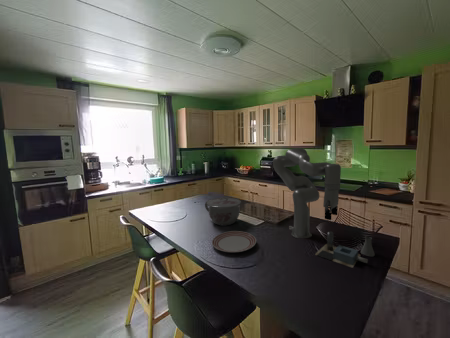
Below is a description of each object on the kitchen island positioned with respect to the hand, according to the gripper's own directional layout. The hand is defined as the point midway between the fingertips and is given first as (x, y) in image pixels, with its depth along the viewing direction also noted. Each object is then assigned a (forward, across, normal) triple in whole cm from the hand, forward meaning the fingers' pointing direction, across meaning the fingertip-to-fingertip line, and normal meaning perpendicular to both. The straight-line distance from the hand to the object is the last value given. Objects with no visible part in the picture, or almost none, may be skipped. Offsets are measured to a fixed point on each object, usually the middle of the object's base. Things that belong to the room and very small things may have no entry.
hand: (331, 216), depth 116 cm
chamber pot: (+21, +8, -77) cm, 80 cm away
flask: (+20, -9, +16) cm, 27 cm away
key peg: (+19, 0, 0) cm, 19 cm away
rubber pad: (+19, +8, +1) cm, 21 cm away
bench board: (+20, +3, +5) cm, 21 cm away
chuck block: (+19, +4, +12) cm, 23 cm away
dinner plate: (+21, +30, -46) cm, 59 cm away
